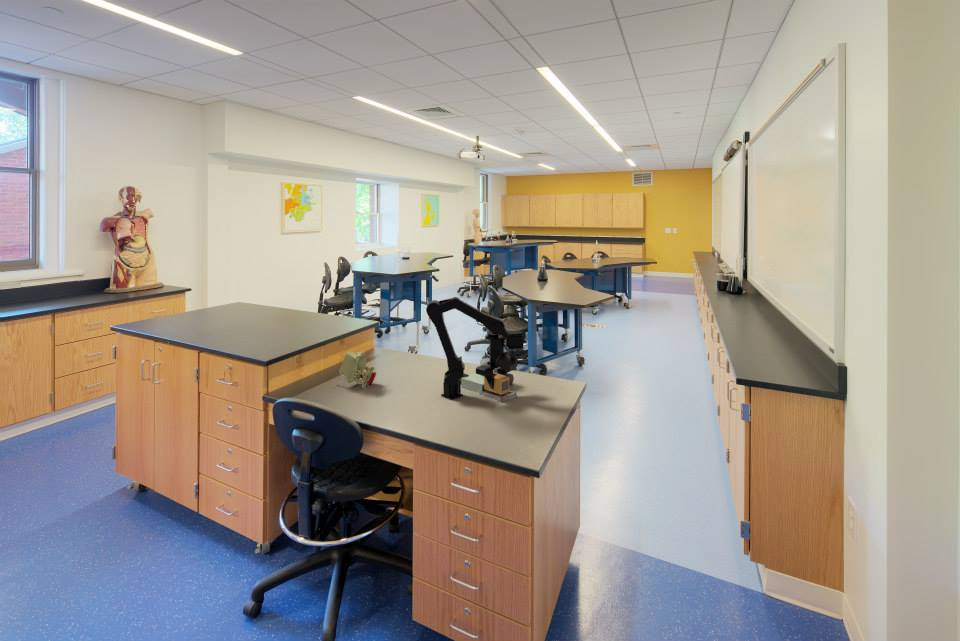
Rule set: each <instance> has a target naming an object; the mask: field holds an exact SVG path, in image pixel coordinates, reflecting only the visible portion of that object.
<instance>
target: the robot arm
mask: <svg viewBox="0 0 960 641" xmlns="http://www.w3.org/2000/svg"><path fill="white" fill-rule="evenodd" d="M452 310H456V311H459V312H460V313H462V314H463V315H466V316H468V317H469V318H472V319H473V320H475V321H477V322H479V323H480V324H481V325H483V326H484V327H485V328H486V329H487V330H488V331H490V332H487V334H486V335H484V340H489V351H487V354H486V355H488V356H489V358H490V361H489V362H487V364H488V365H490V366H485V365H482V366H480V365H478V366H477V367H476V368H475V374H479V375H482V376H485V378H486V380H487V382H488V384H489V386H490V388H491V389H494V377H495V376H496V375H497V374H495V373H494V370H496V369H497V372H498V374H501V375H504V376H506V375H507V373H510V372H512V371H515V368H516V367H518V366H519V364H518V363H519V359H518V357H517V356H512V357H508V353H507V352H506V351H505V348H507V349H508V350H510V351H512V350H524V338H523V332H522V331H518V332H517V331H516V332H509V331H508V329H507V328H506V327H505V323H504V321H503V319H502V318H500V317H498V316H495V315H493V314H488V313H486V312H483V311H482V310H480V309H478V308H476V307H474V306H473V305H472V304H471V305H470V304H469V303H467V302H465V301H463V300H461V299H460V298H459V297H457V296H454V297H451V298H447V299H442V300H437V299H433V300H431V301H429V302H428V304H427V306H426V308H425V311H426V314H427V316H428V318H429V319H430V321H431V323H432V324H433V325H434V327H435V330H436V332H437V336H438V338H439V341H440V342H441V346H442V349H443V351H444V354H445V357H446V361H447V362H446V364H447V371H446V372H445V373H444V375H443V376H444V377H443V384H442V385H443V387H442V388H443V393H442V394H440V396H441V397H443V398H445V399H448V400H454V399H458V398H461V397H463V396H464V394H463V393H461V391H462V387H461V383H460V380H459V379H461V378H462V377H463V375H464V374H465V372H464V371H465V370H466V368H465V367H466V365H465V363H464V361H463V356H459V357H458V355H457V352H456V351H455V347H454V345H453V342H452V341H451V337H450V334H449V331H448V328H447V326H446V323H445V319H444V318H445V317H444V313H446V312H448V311H452Z"/></svg>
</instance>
